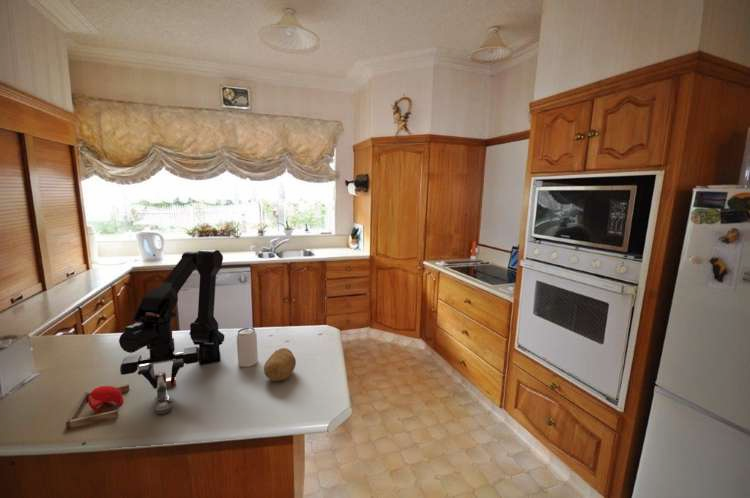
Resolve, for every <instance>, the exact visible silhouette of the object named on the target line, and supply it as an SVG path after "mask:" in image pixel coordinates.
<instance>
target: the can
mask: <svg viewBox="0 0 750 498" xmlns="http://www.w3.org/2000/svg"><path fill="white" fill-rule="evenodd" d="M257 337H258V336H257V332H256V329H255V328H254V327H244V328H241V329H239V330H238V331H237V335H236V348H237V349H236V350H237V362H238V366H239V367H242V368H249V367H254V366H255V365H256V364H257V363H258V338H257Z"/></svg>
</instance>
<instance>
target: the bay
mask: <svg viewBox="0 0 750 498" xmlns="http://www.w3.org/2000/svg"><path fill="white" fill-rule="evenodd" d="M115 387H116V388H118V389H119V390H120V391H121V393H122V394H123V393H125V392H130V384H122V385H117V386H115ZM91 392H92V390H91V391H86V392H84V393H83V395H82V396H81V397H80V399H79V401H78V402H77V404H76V405H75V408H74V409H73V410H72V412H71V413H70V415H69V417H68V419H67V420H66V421H65V426H66V427H65V428H66V430H68V429H73V428H78V427H82V426H86V425H91V424H96V423H100V422H105V421H108V420H113V419H117V418H119V409H115V410H110V411H105V412H101V413H100V412H99V413H95V414H92V415H88V416H83V417H79V415H80V414H81V412H82V410H83V409H84V407H85V405H86V404H87V402H88V398H89V396H90V393H91Z"/></svg>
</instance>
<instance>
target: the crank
mask: <svg viewBox="0 0 750 498" xmlns="http://www.w3.org/2000/svg"><path fill="white" fill-rule="evenodd" d="M166 379H167V373H166V372H163V371H162V372H158V373H156V374H155V381H156V389H155V390H156V394H157V404H155V406H154V411H155V412H156V413H157V412H164V411H167V410H169V409H170V408H171V409H172V407H173V400H170V399H168V396H169V395H168V394H169V393H168V387H167V383H166Z"/></svg>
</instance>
